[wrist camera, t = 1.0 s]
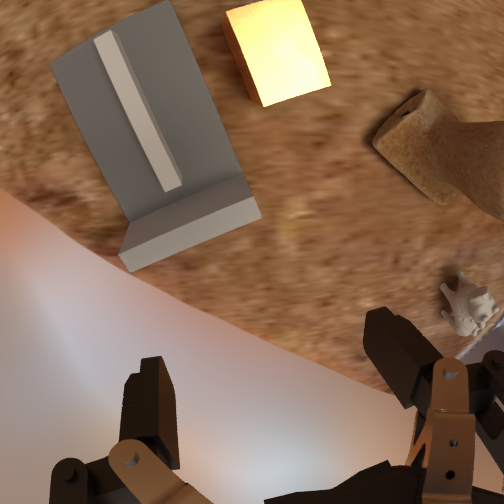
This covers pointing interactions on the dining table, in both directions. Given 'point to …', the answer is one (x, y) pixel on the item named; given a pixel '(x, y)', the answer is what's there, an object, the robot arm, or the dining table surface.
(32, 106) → the dining table surface
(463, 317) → the dog figurine
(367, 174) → the dining table surface
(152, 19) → the rail plate
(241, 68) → the block
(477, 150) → the brown boot
